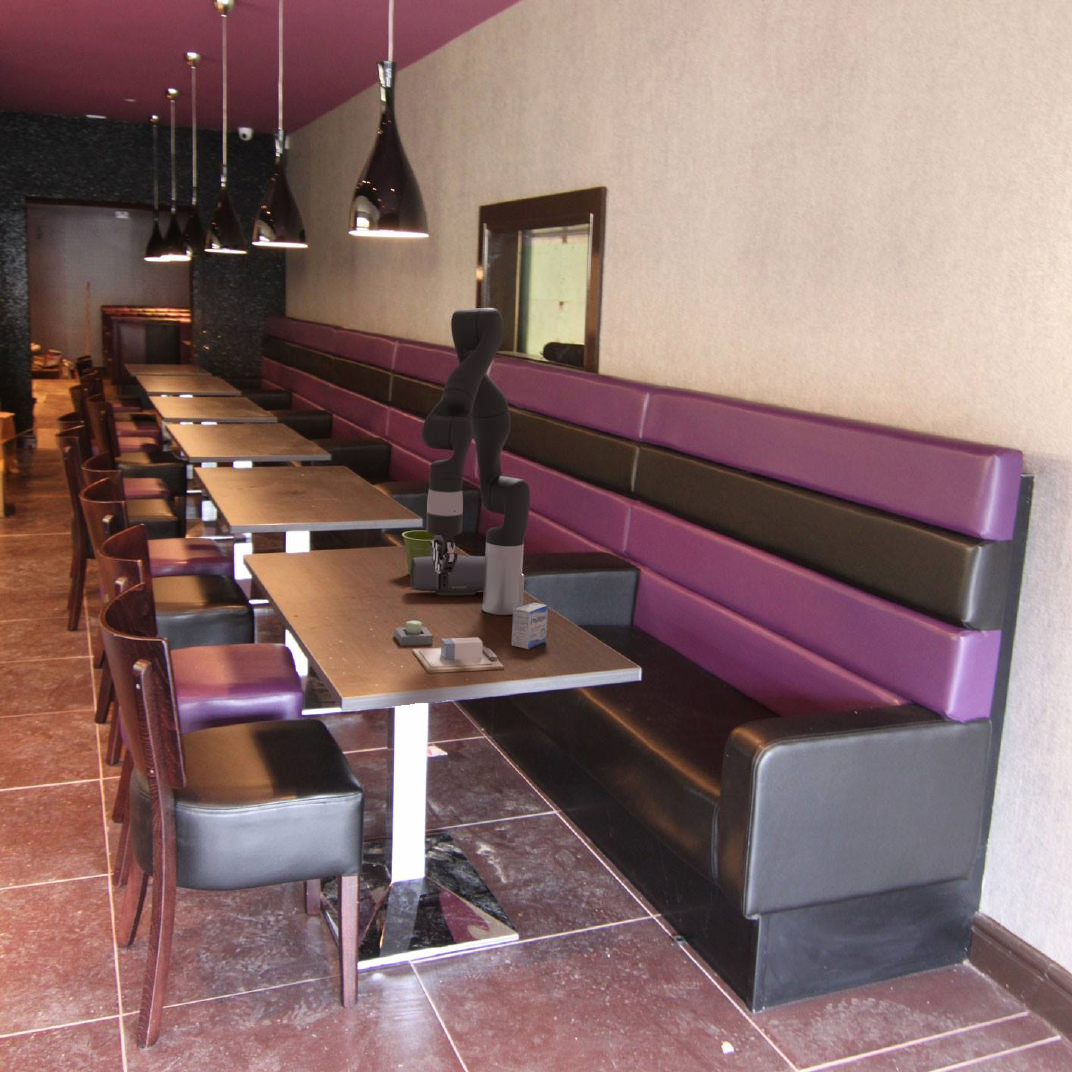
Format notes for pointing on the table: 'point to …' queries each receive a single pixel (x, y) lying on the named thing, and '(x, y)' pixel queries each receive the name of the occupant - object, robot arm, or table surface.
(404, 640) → the button housing
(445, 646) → the white carton blue base
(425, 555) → the plant pot
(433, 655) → the clipboard
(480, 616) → the table surface
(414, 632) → the button
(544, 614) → the medicine box
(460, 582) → the bluetooth speaker
